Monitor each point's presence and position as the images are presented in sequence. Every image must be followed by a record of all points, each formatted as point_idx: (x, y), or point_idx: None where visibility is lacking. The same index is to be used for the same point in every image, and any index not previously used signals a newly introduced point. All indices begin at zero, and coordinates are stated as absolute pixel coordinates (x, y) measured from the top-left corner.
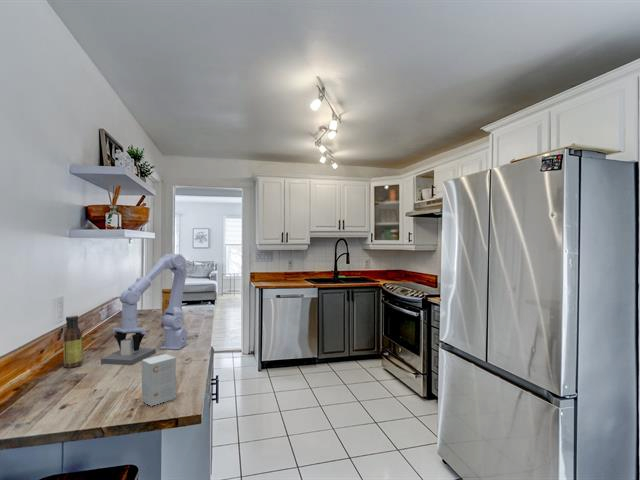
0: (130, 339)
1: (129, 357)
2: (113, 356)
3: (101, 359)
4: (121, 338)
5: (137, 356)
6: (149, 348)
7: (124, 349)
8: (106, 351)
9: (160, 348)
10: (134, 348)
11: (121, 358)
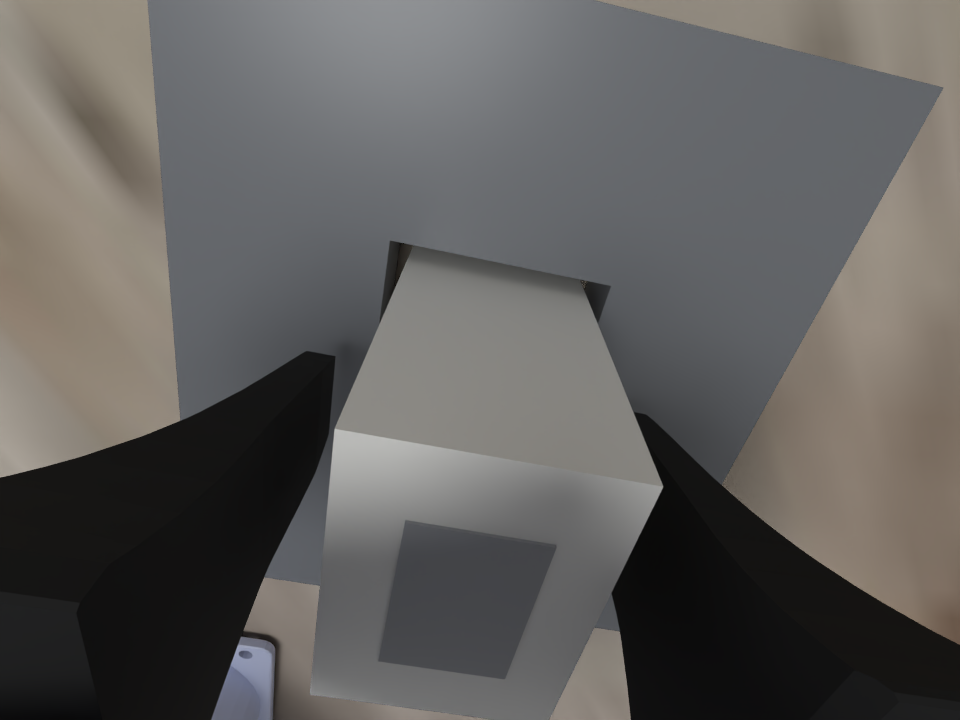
0: (425, 599)
1: (332, 132)
2: (701, 228)
3: (911, 83)
4: (706, 639)
5: (206, 194)
6: (291, 577)
7: (513, 331)
8: (893, 608)
9: (264, 640)
10: (302, 368)
11: (470, 62)
